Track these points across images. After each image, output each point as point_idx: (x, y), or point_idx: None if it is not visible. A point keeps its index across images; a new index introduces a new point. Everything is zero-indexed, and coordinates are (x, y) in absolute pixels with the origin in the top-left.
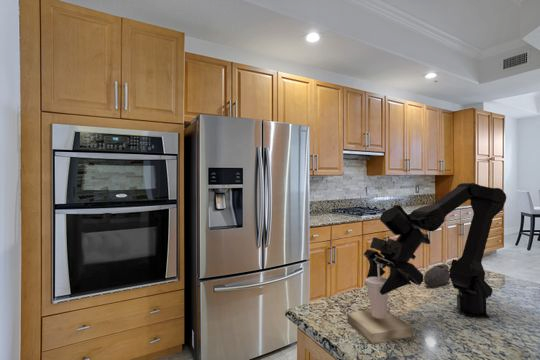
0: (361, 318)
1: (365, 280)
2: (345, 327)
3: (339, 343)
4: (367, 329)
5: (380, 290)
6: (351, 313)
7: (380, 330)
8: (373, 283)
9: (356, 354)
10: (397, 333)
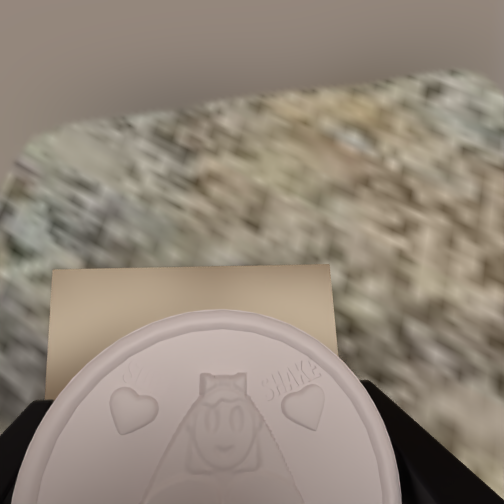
0: None
1: (305, 336)
2: (261, 235)
3: (130, 136)
4: (107, 272)
5: (42, 414)
6: (320, 288)
7: (69, 343)
8: (105, 351)
9: (20, 161)
10: None
